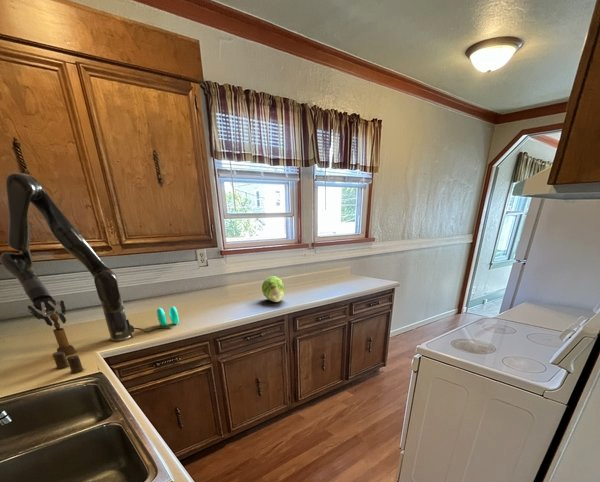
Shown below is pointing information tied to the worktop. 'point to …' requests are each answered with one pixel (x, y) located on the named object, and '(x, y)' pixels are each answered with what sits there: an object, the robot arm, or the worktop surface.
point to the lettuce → (273, 289)
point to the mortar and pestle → (61, 337)
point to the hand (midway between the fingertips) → (58, 323)
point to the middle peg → (60, 360)
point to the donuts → (162, 316)
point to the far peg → (75, 364)
